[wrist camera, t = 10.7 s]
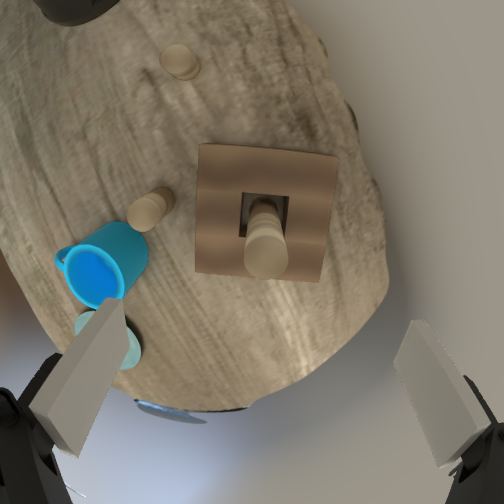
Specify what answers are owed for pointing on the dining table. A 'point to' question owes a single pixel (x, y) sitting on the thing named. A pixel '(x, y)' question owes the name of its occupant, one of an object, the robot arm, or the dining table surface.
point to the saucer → (135, 349)
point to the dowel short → (180, 61)
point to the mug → (104, 263)
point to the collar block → (263, 182)
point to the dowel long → (265, 241)
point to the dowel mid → (150, 209)
